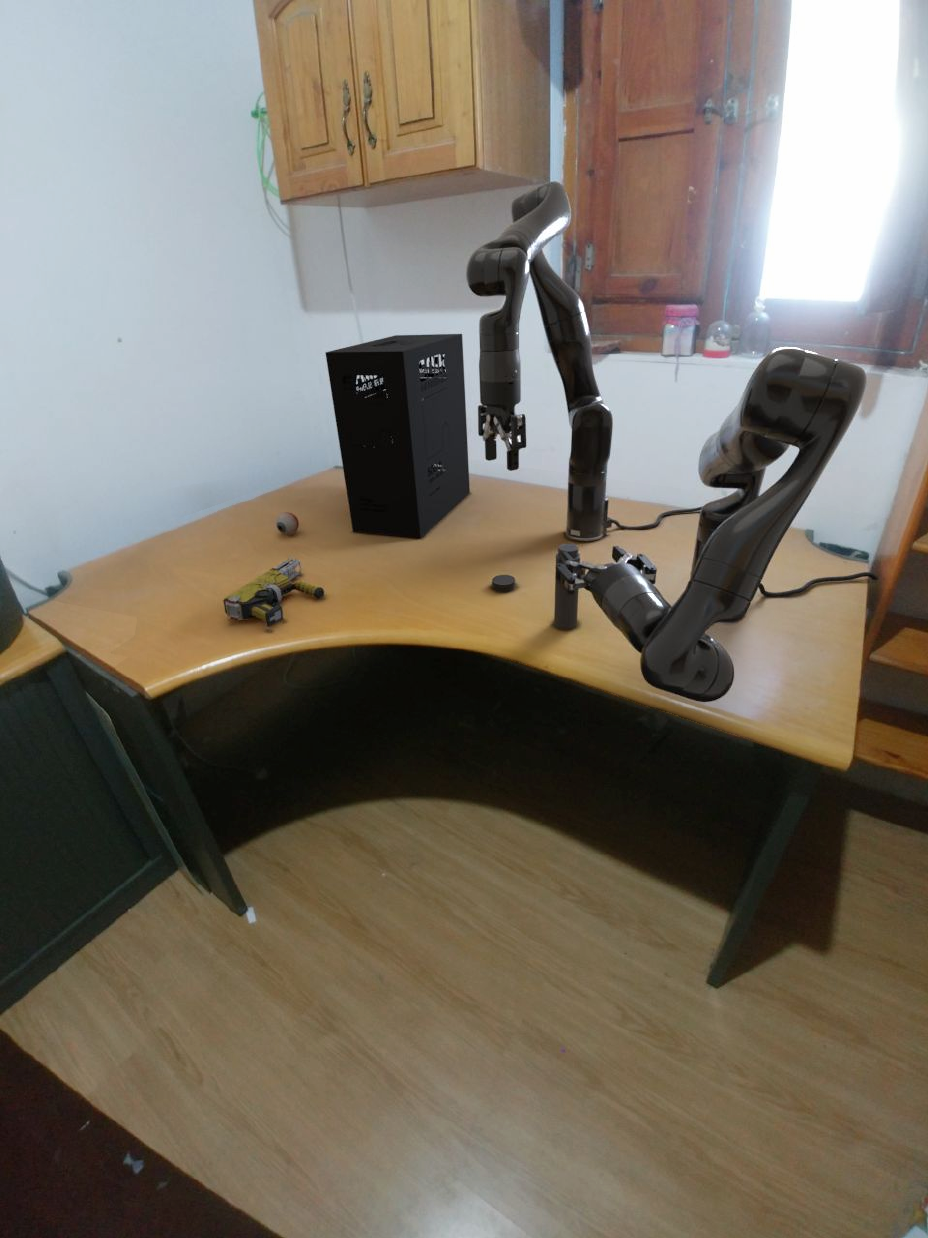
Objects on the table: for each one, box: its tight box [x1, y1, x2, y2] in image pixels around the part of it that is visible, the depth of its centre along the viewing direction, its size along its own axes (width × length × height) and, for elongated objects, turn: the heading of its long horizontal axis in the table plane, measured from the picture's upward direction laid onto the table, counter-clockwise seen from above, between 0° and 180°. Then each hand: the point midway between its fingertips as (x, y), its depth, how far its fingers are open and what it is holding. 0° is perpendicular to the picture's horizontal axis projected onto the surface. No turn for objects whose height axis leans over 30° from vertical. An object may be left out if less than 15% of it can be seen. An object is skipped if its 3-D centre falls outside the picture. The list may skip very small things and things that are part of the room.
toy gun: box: [222, 557, 325, 628], centre depth 130 cm, size 5×24×15 cm
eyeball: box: [275, 511, 300, 536], centre depth 163 cm, size 6×6×6 cm
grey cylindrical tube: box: [553, 543, 581, 631], centre depth 113 cm, size 4×4×16 cm
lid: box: [491, 574, 516, 593], centre depth 131 cm, size 5×5×2 cm
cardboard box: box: [325, 333, 471, 539], centre depth 165 cm, size 38×20×45 cm, turn 159°
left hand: (501, 464), depth 118 cm, fingers open, 8 cm apart
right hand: (588, 554), depth 97 cm, fingers open, 8 cm apart
